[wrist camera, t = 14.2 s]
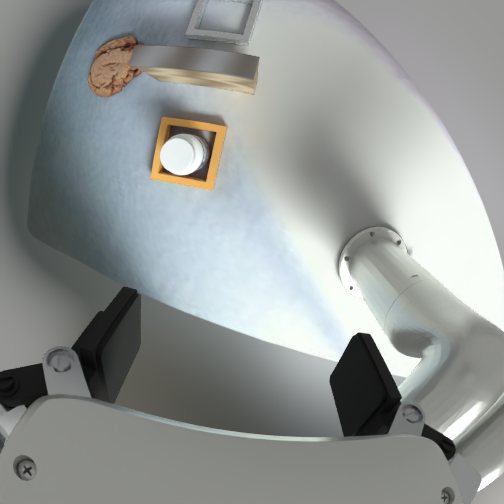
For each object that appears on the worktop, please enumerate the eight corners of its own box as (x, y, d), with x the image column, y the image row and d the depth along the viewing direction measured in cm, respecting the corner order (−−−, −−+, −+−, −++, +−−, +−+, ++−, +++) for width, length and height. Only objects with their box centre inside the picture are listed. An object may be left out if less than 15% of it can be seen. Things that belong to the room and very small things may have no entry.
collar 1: (262, 1, 27) (262, -5, 26) (248, 46, 31) (248, 41, 29) (204, -6, 27) (202, -12, 25) (188, 38, 30) (185, 34, 28)
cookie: (83, 92, 32) (73, 90, 30) (108, 36, 29) (100, 31, 26) (130, 103, 34) (122, 101, 31) (158, 42, 30) (152, 36, 27)
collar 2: (227, 127, 35) (225, 126, 34) (213, 188, 39) (211, 190, 37) (166, 117, 35) (162, 116, 33) (155, 177, 38) (150, 179, 36)
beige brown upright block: (257, 80, 33) (259, 57, 23) (253, 96, 34) (253, 78, 24) (163, 67, 32) (134, 45, 22) (158, 83, 33) (128, 65, 23)
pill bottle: (176, 172, 38) (156, 180, 30) (172, 137, 36) (151, 136, 28) (212, 168, 38) (200, 175, 29) (209, 133, 36) (196, 129, 27)
